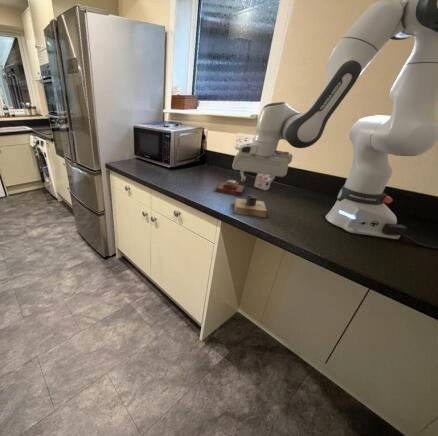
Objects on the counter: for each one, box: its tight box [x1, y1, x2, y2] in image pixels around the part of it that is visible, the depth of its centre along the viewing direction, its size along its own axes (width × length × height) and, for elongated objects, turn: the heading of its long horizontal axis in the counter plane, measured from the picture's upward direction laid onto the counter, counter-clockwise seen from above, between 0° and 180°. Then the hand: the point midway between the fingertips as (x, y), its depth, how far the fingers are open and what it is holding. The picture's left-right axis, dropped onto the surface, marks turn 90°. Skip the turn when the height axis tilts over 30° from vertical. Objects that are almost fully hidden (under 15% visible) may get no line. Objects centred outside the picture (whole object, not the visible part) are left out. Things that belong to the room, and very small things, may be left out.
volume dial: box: [246, 194, 258, 206], centre depth 100 cm, size 4×4×4 cm
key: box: [227, 179, 237, 185], centre depth 120 cm, size 4×4×2 cm
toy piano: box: [215, 180, 245, 197], centre depth 122 cm, size 12×10×4 cm
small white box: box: [253, 173, 272, 191], centre depth 124 cm, size 4×7×10 cm, turn 33°
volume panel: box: [233, 197, 268, 218], centre depth 101 cm, size 12×10×3 cm
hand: (254, 183), depth 96 cm, fingers open, 8 cm apart
